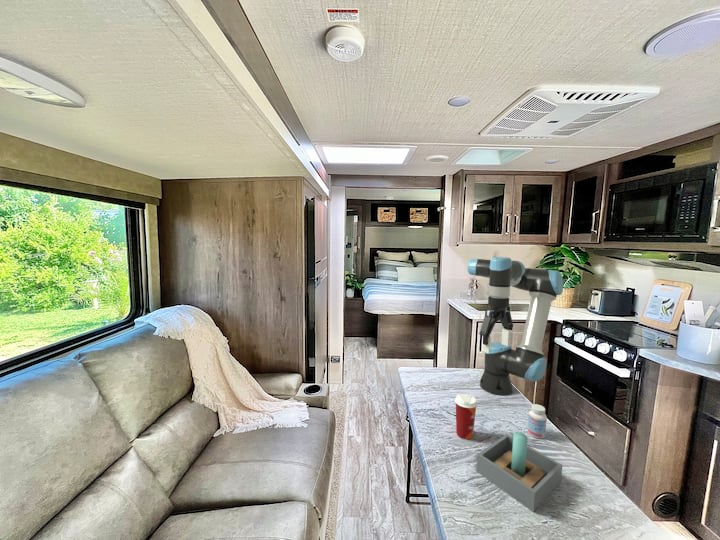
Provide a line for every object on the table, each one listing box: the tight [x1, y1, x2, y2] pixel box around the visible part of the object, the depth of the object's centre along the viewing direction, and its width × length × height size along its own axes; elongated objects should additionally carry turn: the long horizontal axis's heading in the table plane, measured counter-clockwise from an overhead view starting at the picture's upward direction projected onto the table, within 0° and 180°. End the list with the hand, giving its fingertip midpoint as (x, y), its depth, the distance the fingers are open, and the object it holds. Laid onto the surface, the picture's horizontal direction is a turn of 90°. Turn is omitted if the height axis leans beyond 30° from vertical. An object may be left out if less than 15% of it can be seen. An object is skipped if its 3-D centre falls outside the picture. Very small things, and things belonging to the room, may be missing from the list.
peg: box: [511, 431, 528, 478], centre depth 96 cm, size 4×4×14 cm
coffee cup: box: [454, 393, 478, 441], centre depth 116 cm, size 8×8×15 cm
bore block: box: [493, 450, 547, 489], centre depth 96 cm, size 12×12×3 cm
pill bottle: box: [527, 403, 548, 440], centre depth 117 cm, size 6×6×11 cm
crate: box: [476, 433, 563, 513], centre depth 96 cm, size 18×18×6 cm
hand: (495, 348), depth 119 cm, fingers open, 13 cm apart
